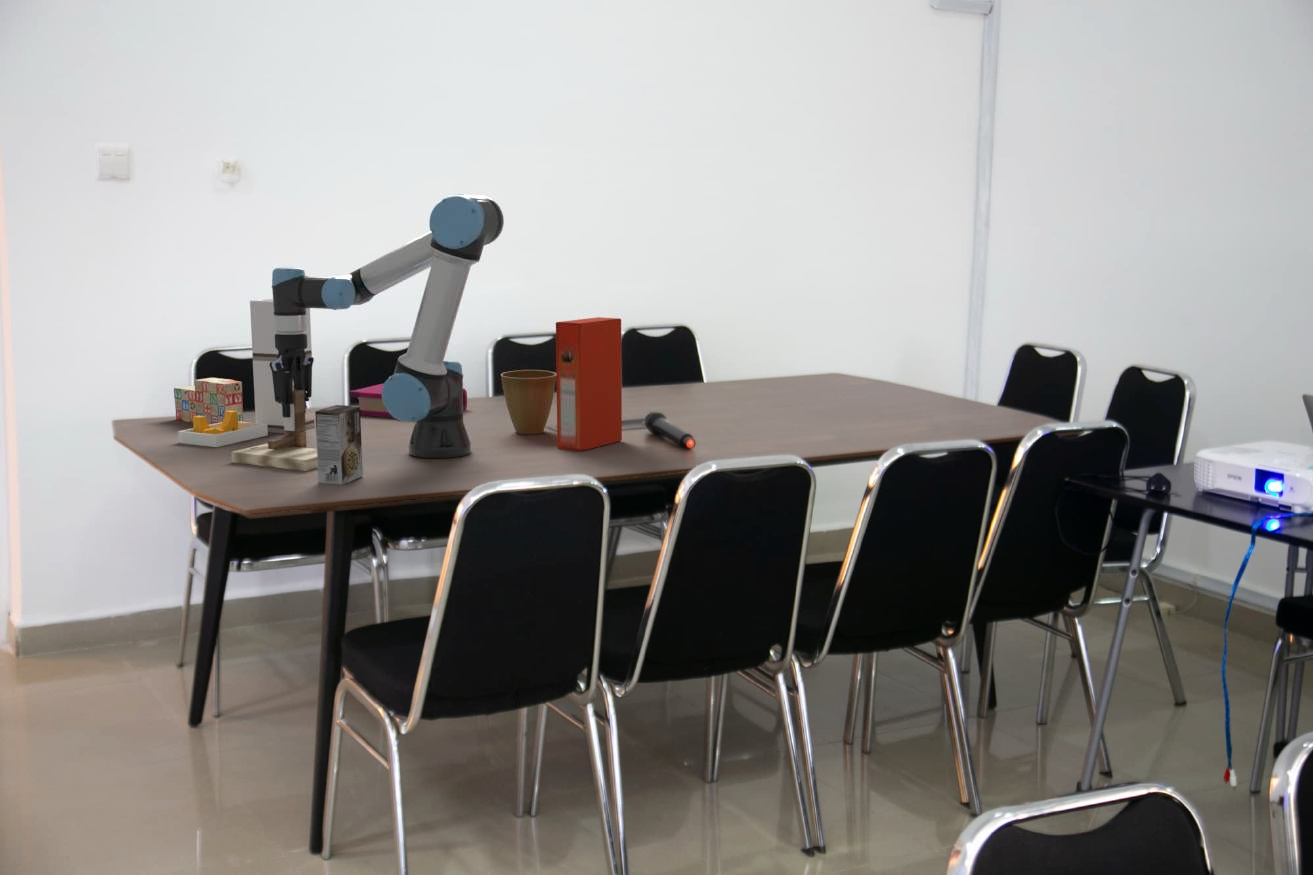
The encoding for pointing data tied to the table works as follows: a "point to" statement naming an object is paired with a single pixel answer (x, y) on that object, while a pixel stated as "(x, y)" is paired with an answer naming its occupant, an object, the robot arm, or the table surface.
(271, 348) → the white column with cutout
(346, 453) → the printed food box
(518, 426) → the plant pot
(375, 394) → the book
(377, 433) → the table surface
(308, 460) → the pine board
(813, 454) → the table surface
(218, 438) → the clamp rest frame
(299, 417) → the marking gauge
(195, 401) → the stack of blocks
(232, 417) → the pipe clamp
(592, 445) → the file binder
